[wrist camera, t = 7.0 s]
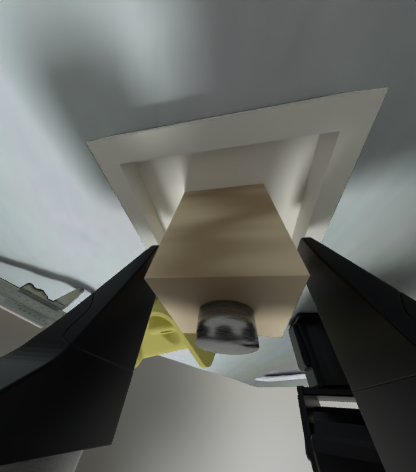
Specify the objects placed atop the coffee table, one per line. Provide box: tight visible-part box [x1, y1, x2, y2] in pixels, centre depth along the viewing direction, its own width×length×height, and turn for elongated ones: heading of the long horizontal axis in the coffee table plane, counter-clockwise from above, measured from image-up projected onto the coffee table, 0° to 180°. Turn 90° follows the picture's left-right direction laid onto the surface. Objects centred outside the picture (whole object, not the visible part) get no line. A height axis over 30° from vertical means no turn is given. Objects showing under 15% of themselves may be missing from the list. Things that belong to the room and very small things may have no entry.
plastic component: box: [135, 299, 216, 368], centre depth 23 cm, size 20×7×10 cm
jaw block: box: [144, 183, 310, 355], centre depth 7 cm, size 4×4×7 cm
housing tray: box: [86, 87, 389, 249], centre depth 10 cm, size 11×11×2 cm
